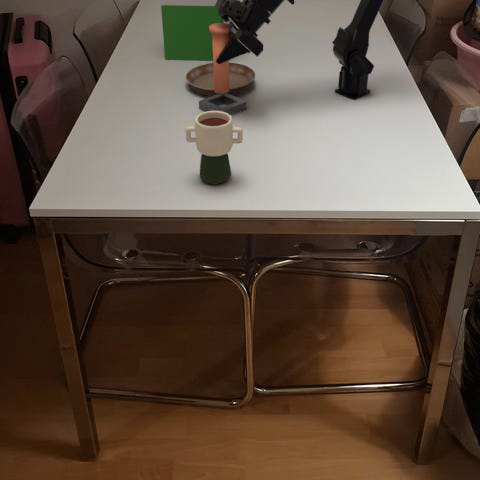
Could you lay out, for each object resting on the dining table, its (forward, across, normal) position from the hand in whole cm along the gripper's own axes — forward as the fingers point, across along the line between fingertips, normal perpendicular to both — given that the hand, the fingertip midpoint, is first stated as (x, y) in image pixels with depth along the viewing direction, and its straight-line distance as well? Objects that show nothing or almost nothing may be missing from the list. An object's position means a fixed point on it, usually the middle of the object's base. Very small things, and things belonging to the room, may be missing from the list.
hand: (215, 59), depth 146 cm
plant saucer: (+6, -14, +12) cm, 19 cm away
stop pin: (+4, 0, +6) cm, 8 cm away
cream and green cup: (+14, +30, +3) cm, 34 cm away
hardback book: (+6, -36, +11) cm, 38 cm away
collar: (+8, 0, +10) cm, 12 cm away
